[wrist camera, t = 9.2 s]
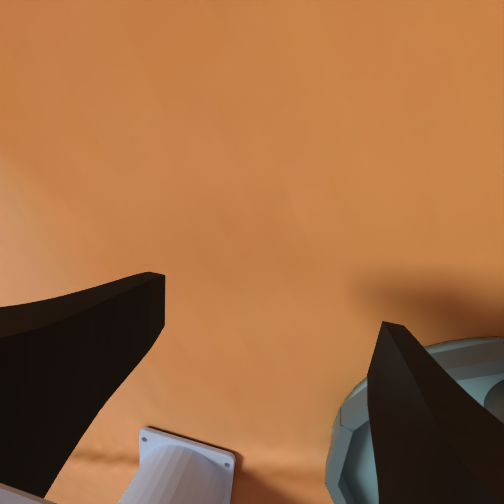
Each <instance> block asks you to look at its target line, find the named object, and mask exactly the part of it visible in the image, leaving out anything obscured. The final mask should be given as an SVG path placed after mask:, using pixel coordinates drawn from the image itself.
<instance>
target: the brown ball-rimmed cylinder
mask: <svg viewBox="0 0 504 504" xmlns="http://www.w3.org/2000/svg"><path fill="white" fill-rule="evenodd" d="M484 408H485V409H487V410H488V411H489V412H490V413H491V414H493V415H494V416H495V417H496V418H497V419H499V420H500V421H501V422H502V423H503V424H504V379H503V380H501V381H500V382H498V383H497V384H495V385H494V386H493V387H492V388H491V389H490V390H489V391H488V393H487V395H486V397H485V399H484Z"/></svg>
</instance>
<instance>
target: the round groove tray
mask: <svg viewBox="0 0 504 504" xmlns="http://www.w3.org/2000/svg"><path fill="white" fill-rule="evenodd" d="M424 348H425V350H426V351H427V352H428V353H429V354H430V355H431V356H432V357H433V358H434V359H435V360H436V362H437V363H438V364H439V365H440V366H441V367H442V368H443V369H444V370H445V371H446V372H447V373H448V374H449V375H450V376H451V377H452V378H453V379H454V380H455V381H456V382H457V383H458V384H459V385H460V386H461V387H462V388H463V389H464V390H465V391H466V392H467V393H468V394H469V395H471V396H472V397H473V398H474V399H475V400H476V401H477V402H478V403H480V404H481V405H482V406H483V407H484V399H485V397H486V395H487V393H488V391H489V390H490V389H491V388H492V387H493V386H494V385H495V384H497V383H498V382H500V381H501V380H503V379H504V337H481V338H467V339H460V340H453V341H446V342H442V343H438V344H434V345H430V346H426V347H424ZM325 485H326V487H327V489H328V491H329V493H330V496H331V498H332V500H333V502H334V504H379V496H378V484H377V474H376V467H375V459H374V452H373V445H372V437H371V430H370V422H369V414H368V406H367V377H366V378H365V379H364V380H363V381H361V382H360V383H359V384H358V385H357V386H356V387H355V388H354V389H353V391H352V392H351V393H350V394H349V396H348V397H347V398H346V399H345V401H344V403H343V405H341V407H340V410H339V412H338V414H337V417H336V420H335V422H334V425H333V430H332V436H331V445H330V448H329V452H328V456H327V460H326V471H325Z"/></svg>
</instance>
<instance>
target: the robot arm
mask: <svg viewBox="0 0 504 504" xmlns="http://www.w3.org/2000/svg"><path fill="white" fill-rule="evenodd" d="M164 326H165V275H162V274H158V273H153V272H144V273H140V274H136V275H132V276H129V277H126V278H122V279H119V280H116V281H113V282H109V283H106V284H103V285H100V286H96V287H93V288H89V289H86V290H82V291H78V292H75V293H71V294H68V295H64V296H60V297H56V298H51V299H47V300H42V301H37V302H31V303H26V304H20V305H13V306H6V307H0V504H57V503H54V502H51V501H48V500H46V499H44V497H45V495H46V494H47V492H48V490H49V489H50V487H51V485H52V484H53V482H54V480H55V479H56V477H57V475H58V474H59V472H60V470H61V469H62V467H63V466H64V464H65V462H66V461H67V459H68V458H69V456H70V455H71V453H72V451H73V450H74V448H75V447H76V445H77V444H78V442H79V441H80V439H81V437H82V436H83V434H84V433H85V432H86V430H87V429H88V427H89V426H90V424H91V423H92V421H93V420H94V418H95V417H96V415H97V414H98V412H99V411H100V410H101V408H102V407H103V406H104V404H105V403H106V402H107V401H108V399H109V398H110V397H111V396H112V394H113V393H114V392H115V391H116V390H117V389H118V387H119V386H120V385H121V384H122V383H123V381H124V380H125V379H126V378H127V377H128V375H129V374H130V373H131V372H132V371H133V370H134V368H135V367H136V366H137V365H138V364H139V362H140V361H141V360H142V359H143V357H144V356H145V355H146V354H147V353H148V351H149V350H150V349H151V347H152V346H153V344H154V343H155V341H156V339H157V338H158V336H159V334H160V333H161V331H162V329H163V328H164ZM367 406H368V414H369V422H370V430H371V437H372V445H373V452H374V459H375V467H376V474H377V484H378V496H379V504H504V424H503V423H502V422H501V421H500V420H499V419H497V418H496V417H495V416H494V415H493V414H491V413H490V412H489V411H488V410H487V409H485V408H484V407H483V406H482V405H481V404H480V403H478V402H477V401H476V400H475V399H474V398H473V397H472V396H471V395H469V394H468V393H467V392H466V391H465V390H464V389H463V388H462V387H461V386H460V385H459V384H458V383H457V382H456V381H455V380H454V379H453V378H452V377H451V376H450V375H449V374H448V373H447V372H446V371H445V370H444V369H443V368H442V367H441V366H440V365H439V364H438V363H437V362H436V360H435V359H434V358H433V357H432V356H431V355H430V354H429V353H428V352H427V351H426V350H425V348H424V347H423V346H422V345H421V344H420V343H419V342H418V341H417V339H416V338H415V337H414V336H413V335H412V334H411V333H410V332H409V331H408V329H407V328H406V327H405V326H403V325H399V324H394V323H389V322H385V321H382V325H381V328H380V332H379V335H378V339H377V342H376V346H375V349H374V353H373V356H372V360H371V363H370V367H369V370H368V374H367ZM139 449H140V467H139V469H138V470H137V472H136V474H135V475H134V477H133V479H132V480H131V482H130V484H129V485H128V487H127V489H126V491H125V492H124V494H123V496H122V497H121V499H120V501H119V502H118V504H230V501H231V492H232V484H233V476H234V468H235V459H236V458H235V455H234V454H233V453H231V452H228V451H225V450H221V449H218V448H215V447H211V446H208V445H205V444H202V443H198V442H195V441H192V440H188V439H185V438H182V437H178V436H175V435H172V434H168V433H165V432H162V431H158V430H155V429H152V428H148V427H142V428H141V430H140V431H139Z"/></svg>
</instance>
